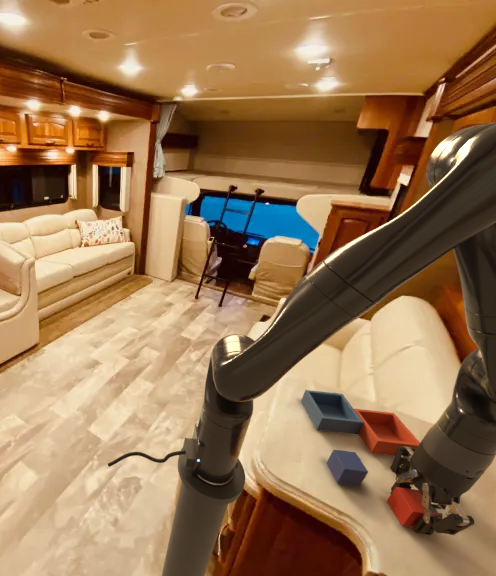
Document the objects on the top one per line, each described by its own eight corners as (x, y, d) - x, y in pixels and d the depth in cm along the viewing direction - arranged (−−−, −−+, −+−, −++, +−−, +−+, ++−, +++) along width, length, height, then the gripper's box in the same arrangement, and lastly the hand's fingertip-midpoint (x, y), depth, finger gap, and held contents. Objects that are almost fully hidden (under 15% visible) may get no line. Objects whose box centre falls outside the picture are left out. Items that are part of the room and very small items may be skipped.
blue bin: (316, 430, 78) (322, 418, 76) (300, 401, 86) (305, 389, 84) (357, 434, 77) (363, 422, 75) (337, 405, 85) (342, 393, 84)
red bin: (370, 453, 72) (377, 440, 71) (347, 420, 81) (353, 408, 79) (414, 458, 72) (423, 446, 70) (387, 424, 80) (394, 412, 78)
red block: (402, 526, 59) (413, 511, 57) (386, 501, 63) (395, 486, 61) (428, 529, 58) (440, 515, 56) (410, 504, 62) (421, 490, 61)
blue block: (336, 483, 66) (344, 469, 64) (326, 463, 70) (333, 449, 68) (359, 486, 65) (368, 472, 63) (347, 465, 69) (355, 451, 67)
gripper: (398, 417, 60) (364, 474, 67) (466, 494, 47) (414, 555, 54) (441, 421, 59) (401, 479, 67) (521, 501, 46) (461, 561, 54)
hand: (407, 513), depth 60 cm, fingers open, 5 cm apart
